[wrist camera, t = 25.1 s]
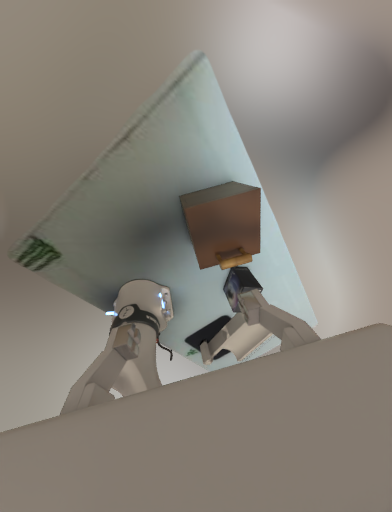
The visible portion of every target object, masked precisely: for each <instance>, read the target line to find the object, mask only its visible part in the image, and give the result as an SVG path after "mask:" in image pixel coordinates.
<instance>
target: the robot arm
mask: <svg viewBox="0 0 392 512" xmlns="http://www.w3.org/2000/svg"><path fill="white" fill-rule="evenodd" d="M238 299H239V301H238V305H239V308H240V311H241V313H242V314H244V319H245V321H246V322H247V324H248V326H251V325H255V324H259V323H260V325H262V326H263V327H264V328H266V329H267V330H268V331H270V332H271V333H273V334H274V335H275V336H277V337H278V338H279V339H281V340H282V342H281V347H280V350H281V352H277V353H274V354H270V355H267V356H263V357H260V358H256V359H253V360H249V361H246V362H243V363H239V364H236V365H232V366H229V367H225V368H222V369H218V370H215V371H211V372H208V373H205V374H201V375H198V376H194V377H191V378H187V379H184V380H180V381H177V382H173V383H170V384H167V385H163V386H162V384H161V381H160V379H159V376H158V372H157V367H156V343H158V345H159V346H160V347H161V348H163V349H165V350H167V351H169V352H170V353H171V355H170V361H171V360H172V356H173V355H172V350H171V351H170V350H169V349H167V348H165V347H163V346H161V345H160V343H159V335H160V332H161V331H163V330H164V329H165V328H166V327H167V322H168V321H169V320H171V319H172V318H173V316H174V314H173V307H172V301H171V295H170V289H169V288H168V287H166V286H160V285H158V284H156V283H154V282H152V281H148V280H134V281H131V282H128V283H126V284H125V285H124V286H122V288H121V289H120V291H119V295H118V298H117V299H116V300H115V301H114V304H113V305H114V307H115V310H114V312H107V313H106V315H113V318H112V325H111V328H110V333H109V338H108V341H107V344H106V347H105V350H104V351H103V352H101V353H100V355H99V356H98V357H97V358H96V360H95V361H94V362H93V363H92V364H91V365H90V366H89V368H88V369H87V370H86V371H85V372H84V374H83V375H82V376H81V377H80V378H79V380H78V381H77V382H76V383H75V384H74V385H73V386H72V388H71V390H70V392H69V395H68V397H67V399H66V401H65V403H64V406H63V408H62V410H61V413H60V415H59V416H56V417H52V418H49V419H46V420H42V421H39V422H35V423H32V424H28V425H25V426H21V427H18V428H15V429H11V430H7V431H4V432H0V512H392V326H391V325H387V324H381V323H379V324H374V325H370V326H367V327H364V328H360V329H357V330H354V331H350V332H346V333H343V334H339V335H336V336H333V337H329V338H326V339H322V340H321V339H320V337H319V336H318V335H317V334H316V333H315V332H314V331H313V329H312V328H311V327H310V326H309V325H308V324H307V323H306V322H305V321H303V320H301V319H299V318H297V317H295V316H293V315H291V314H289V313H287V312H285V311H283V310H281V309H279V308H277V307H275V306H273V305H269V304H268V303H267V301H266V300H265V298H264V297H263V296H262V294H261V293H260V292H259V290H258V289H254V290H250V291H246V292H243V293H240V294H238ZM156 341H157V342H156ZM111 388H113V389H115V390H116V391H118V392H120V393H121V394H122V396H123V397H122V398H119V399H115V397H114V395H112V394H111V393H109V391H110V389H111ZM114 399H115V400H114Z"/></svg>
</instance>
